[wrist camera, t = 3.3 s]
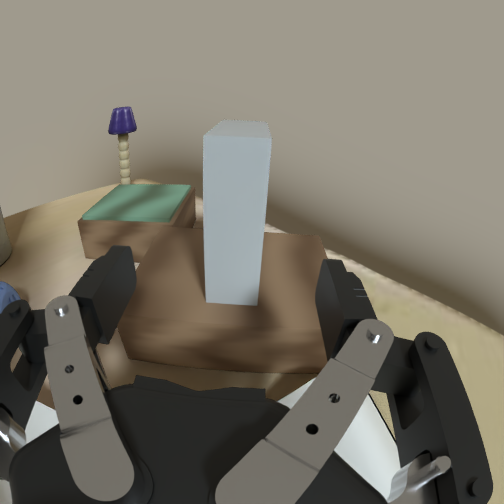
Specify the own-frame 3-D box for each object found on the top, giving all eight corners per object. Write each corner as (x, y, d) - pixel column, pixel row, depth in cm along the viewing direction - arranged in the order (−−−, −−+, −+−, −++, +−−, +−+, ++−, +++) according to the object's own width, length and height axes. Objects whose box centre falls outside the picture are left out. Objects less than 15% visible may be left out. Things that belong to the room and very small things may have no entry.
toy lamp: (146, 204, 47) (141, 105, 39) (123, 212, 44) (115, 108, 35) (132, 197, 49) (126, 106, 41) (110, 205, 46) (102, 109, 38)
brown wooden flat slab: (128, 358, 21) (112, 312, 18) (166, 267, 32) (162, 226, 29) (332, 372, 21) (351, 328, 18) (311, 276, 32) (319, 235, 29)
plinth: (85, 258, 32) (76, 217, 29) (121, 217, 42) (117, 183, 40) (176, 265, 32) (172, 220, 29) (195, 219, 42) (194, 184, 40)
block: (206, 302, 20) (203, 135, 14) (220, 239, 28) (223, 119, 22) (257, 305, 20) (271, 138, 14) (257, 241, 28) (266, 122, 22)
